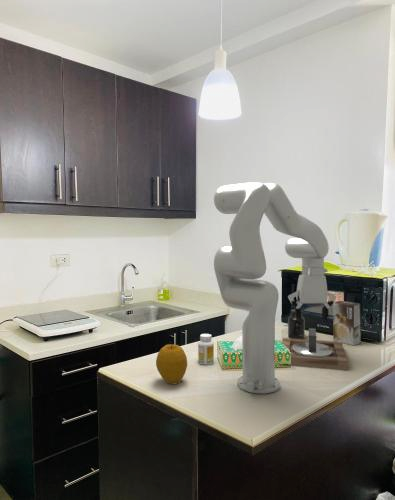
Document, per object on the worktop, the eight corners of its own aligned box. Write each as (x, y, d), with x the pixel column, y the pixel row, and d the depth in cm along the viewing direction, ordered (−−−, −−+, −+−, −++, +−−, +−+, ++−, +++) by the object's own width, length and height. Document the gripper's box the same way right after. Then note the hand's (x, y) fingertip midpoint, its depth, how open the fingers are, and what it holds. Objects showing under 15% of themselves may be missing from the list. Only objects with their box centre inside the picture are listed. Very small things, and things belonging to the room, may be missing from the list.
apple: (149, 381, 118) (149, 344, 117) (175, 373, 124) (174, 337, 123) (168, 391, 111) (167, 351, 110) (194, 382, 117) (193, 344, 116)
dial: (331, 347, 144) (331, 328, 143) (334, 360, 130) (334, 338, 130) (292, 345, 147) (292, 325, 147) (291, 357, 134) (291, 336, 133)
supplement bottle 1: (214, 359, 136) (213, 333, 136) (213, 365, 131) (213, 337, 130) (199, 359, 137) (198, 332, 136) (197, 364, 132) (197, 337, 131)
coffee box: (361, 342, 155) (361, 303, 154) (353, 346, 151) (354, 305, 150) (339, 337, 162) (340, 300, 161) (332, 341, 157) (332, 302, 156)
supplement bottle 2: (284, 336, 164) (285, 309, 163) (298, 335, 166) (299, 308, 165) (293, 341, 157) (293, 312, 157) (307, 339, 159) (308, 311, 159)
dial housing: (347, 370, 125) (347, 360, 125) (279, 364, 131) (279, 355, 131) (341, 349, 146) (341, 341, 146) (282, 345, 152) (282, 337, 152)
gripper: (331, 270, 141) (330, 316, 142) (285, 270, 140) (284, 317, 141) (340, 272, 134) (339, 321, 134) (292, 272, 132) (291, 321, 133)
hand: (311, 319), depth 137 cm, fingers open, 9 cm apart
